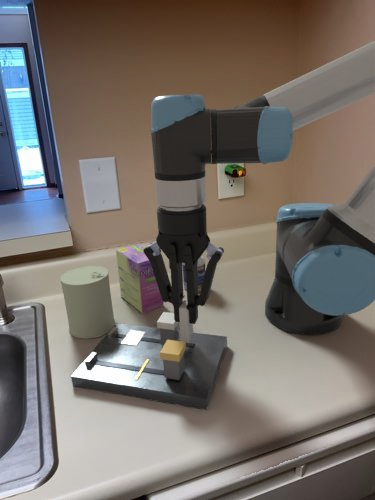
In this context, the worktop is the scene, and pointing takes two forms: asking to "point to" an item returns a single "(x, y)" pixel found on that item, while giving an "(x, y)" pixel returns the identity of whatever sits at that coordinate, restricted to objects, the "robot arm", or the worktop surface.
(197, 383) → the console
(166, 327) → the fader
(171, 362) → the fader
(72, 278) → the can
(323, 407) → the worktop surface
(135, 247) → the box
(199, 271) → the pill bottle
